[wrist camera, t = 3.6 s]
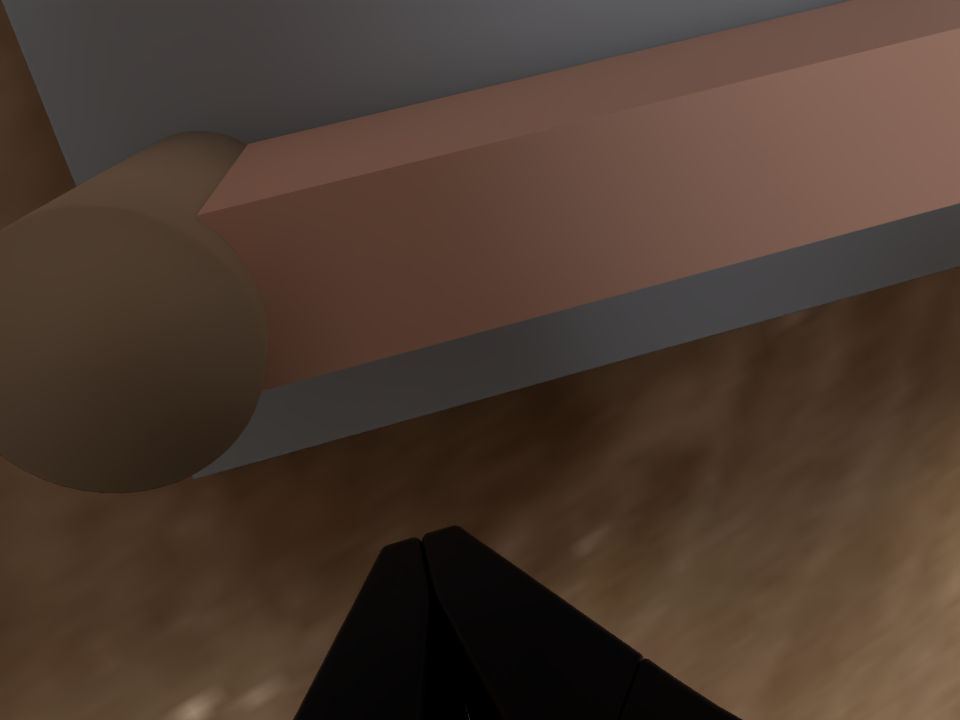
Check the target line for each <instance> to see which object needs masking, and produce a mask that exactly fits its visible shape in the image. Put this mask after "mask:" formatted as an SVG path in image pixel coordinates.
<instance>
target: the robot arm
mask: <svg viewBox="0 0 960 720" xmlns="http://www.w3.org/2000/svg"><path fill="white" fill-rule="evenodd" d="M466 708H467V709H466ZM468 715H469V716H468ZM469 718H470V720H742V719H740V718H738V717H737V716H735V715H733V714H731V713H730V712H728V711H726V710H724V709H723V708H721V707H719V706H717V705H716V704H714V703H713V702H711V701H710V700H708V699H707V698H705V697H704V696H702V695H701V694H699V693H697V692H696V691H694V690H693V689H691V688H690V687H688V686H687V685H685V684H684V683H682V682H681V681H679V680H678V679H676V678H675V677H673V676H672V675H670V674H669V673H667V672H666V671H664V670H663V669H662V668H660V667H659V666H658V665H656V664H655V663H653V662H652V661H651V660H649V659H644V658H643V656H642V655H641V654H640V653H639V652H637V651H636V650H634V649H633V648H631V647H630V646H629V645H627V644H626V643H624V642H623V641H622V640H620V639H619V638H617V637H616V636H614V635H613V634H612V633H610V632H609V631H607V630H606V629H604V628H603V627H602V626H600V625H599V624H597V623H596V622H595V621H593V620H592V619H590V618H589V617H587V616H586V615H585V614H583V613H582V612H580V611H579V610H577V609H576V608H575V607H573V606H572V605H570V604H569V603H568V602H566V601H565V600H563V599H562V598H560V597H559V596H558V595H556V594H555V593H553V592H552V591H550V590H549V589H548V588H546V587H545V586H543V585H542V584H540V583H539V582H538V581H536V580H535V579H533V578H532V577H531V576H529V575H528V574H526V573H525V572H523V571H522V570H521V569H519V568H518V567H516V566H515V565H513V564H512V563H511V562H509V561H508V560H506V559H505V558H504V557H502V556H501V555H499V554H498V553H496V552H495V551H494V550H492V549H491V548H489V547H488V546H486V545H485V544H484V543H482V542H481V541H479V540H478V539H477V538H475V537H474V536H472V535H471V534H469V533H468V532H467V531H465V530H464V529H462V528H461V527H459V526H456V525H454V526H450V527H447V528H443V529H440V530H437V531H433V532H430V533H427V534H425V535H424V536H423V538H422V542H421V540H420V539H419V538H416V537H415V538H410V539H406V540H403V541H400V542H396V543H393V544H389V545H386V546H385V547H383V548H382V550H381V551H380V553H379V555H378V557H377V559H376V561H375V563H374V565H373V567H372V569H371V570H370V572H369V574H368V576H367V578H366V580H365V582H364V584H363V586H362V588H361V590H360V592H359V594H358V596H357V597H356V599H355V601H354V603H353V605H352V607H351V609H350V611H349V613H348V615H347V617H346V619H345V621H344V623H343V624H342V626H341V628H340V630H339V632H338V634H337V636H336V638H335V640H334V642H333V644H332V646H331V648H330V649H329V651H328V653H327V655H326V657H325V659H324V661H323V663H322V665H321V667H320V669H319V671H318V673H317V675H316V676H315V678H314V680H313V682H312V684H311V686H310V688H309V690H308V692H307V694H306V696H305V698H304V700H303V702H302V703H301V705H300V707H299V709H298V711H297V713H296V715H295V717H294V719H293V720H469Z"/></svg>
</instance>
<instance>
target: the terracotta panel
mask: <svg viewBox="0 0 960 720" xmlns="http://www.w3.org/2000/svg"><path fill="white" fill-rule="evenodd" d="M958 203H960V0H851V1H846V2H842V3H838V4H834V5H830V6H825V7H821V8H817V9H813V10H809V11H804V12H800V13H796V14H792V15H788V16H783V17H779V18H775V19H771V20H767V21H762V22H758V23H754V24H750V25H746V26H741V27H737V28H733V29H729V30H725V31H720V32H716V33H712V34H708V35H704V36H699V37H695V38H691V39H687V40H683V41H678V42H674V43H670V44H666V45H662V46H657V47H653V48H649V49H645V50H641V51H636V52H632V53H628V54H624V55H620V56H615V57H611V58H607V59H603V60H599V61H594V62H590V63H586V64H582V65H578V66H573V67H569V68H565V69H561V70H557V71H552V72H548V73H544V74H540V75H536V76H531V77H527V78H523V79H519V80H515V81H510V82H506V83H502V84H498V85H494V86H489V87H485V88H481V89H477V90H473V91H468V92H464V93H460V94H456V95H452V96H447V97H443V98H439V99H435V100H431V101H426V102H422V103H418V104H414V105H410V106H405V107H401V108H397V109H393V110H389V111H384V112H380V113H376V114H372V115H368V116H363V117H359V118H355V119H351V120H347V121H342V122H338V123H334V124H330V125H326V126H321V127H317V128H313V129H309V130H305V131H300V132H296V133H292V134H288V135H284V136H279V137H275V138H271V139H267V140H263V141H258V142H254V143H250V144H248V145H246V144H244V143H243V142H241V141H239V140H237V139H235V138H232V137H229V136H227V135H224V134H220V133H215V132H209V131H188V132H182V133H178V134H174V135H171V136H168V137H166V138H164V139H162V140H160V141H158V142H156V143H154V144H153V145H151V146H149V147H147V148H145V149H144V150H142V151H140V152H138V153H136V154H135V155H133V156H131V157H129V158H127V159H126V160H124V161H122V162H120V163H118V164H117V165H115V166H113V167H111V168H109V169H108V170H106V171H104V172H102V173H100V174H99V175H97V176H95V177H93V178H91V179H90V180H88V181H86V182H84V183H82V184H81V185H79V186H77V187H75V188H73V189H72V190H70V191H68V192H66V193H64V194H63V195H61V196H59V197H57V198H56V199H54V200H52V201H50V202H48V203H47V204H45V205H43V206H41V207H39V208H38V209H36V210H34V211H32V212H30V213H29V214H27V215H25V216H23V217H21V218H20V219H18V220H16V221H14V222H12V223H11V224H9V225H7V226H5V227H4V228H2V229H1V230H0V455H1V456H2V457H3V458H5V459H6V460H8V461H9V462H11V463H12V464H14V465H16V466H17V467H19V468H21V469H22V470H24V471H26V472H28V473H30V474H32V475H35V476H37V477H39V478H41V479H43V480H46V481H49V482H52V483H55V484H58V485H61V486H64V487H69V488H73V489H78V490H82V491H90V492H99V493H129V492H139V491H146V490H150V489H155V488H160V487H163V486H166V485H169V484H172V483H175V482H178V481H181V480H183V479H185V478H187V477H189V476H191V475H193V474H195V473H197V472H199V471H201V470H202V469H204V468H205V467H207V466H208V465H210V464H211V463H213V462H214V461H215V460H216V459H218V458H219V457H220V456H221V455H222V454H224V453H225V452H226V451H227V450H228V449H229V448H230V447H231V446H232V445H233V443H234V442H235V441H236V440H237V439H238V438H239V437H240V435H241V434H242V432H243V431H244V429H245V428H246V426H247V425H248V423H249V421H250V419H251V417H252V415H253V413H254V411H255V409H256V407H257V404H258V401H259V398H260V395H261V392H262V391H264V390H268V389H272V388H275V387H279V386H283V385H287V384H290V383H294V382H298V381H301V380H305V379H309V378H313V377H316V376H320V375H324V374H327V373H331V372H335V371H339V370H342V369H346V368H350V367H353V366H357V365H361V364H365V363H368V362H372V361H376V360H379V359H383V358H387V357H391V356H394V355H398V354H402V353H405V352H409V351H413V350H417V349H420V348H424V347H428V346H431V345H435V344H439V343H442V342H446V341H450V340H454V339H457V338H461V337H465V336H468V335H472V334H476V333H480V332H483V331H487V330H491V329H494V328H498V327H502V326H506V325H509V324H513V323H517V322H520V321H524V320H528V319H532V318H535V317H539V316H543V315H546V314H550V313H554V312H558V311H561V310H565V309H569V308H572V307H576V306H580V305H583V304H587V303H591V302H595V301H598V300H602V299H606V298H609V297H613V296H617V295H621V294H624V293H628V292H632V291H635V290H639V289H643V288H647V287H650V286H654V285H658V284H661V283H665V282H669V281H673V280H676V279H680V278H684V277H687V276H691V275H695V274H699V273H702V272H706V271H710V270H713V269H717V268H721V267H725V266H728V265H732V264H736V263H739V262H743V261H747V260H750V259H754V258H758V257H762V256H765V255H769V254H773V253H776V252H780V251H784V250H788V249H791V248H795V247H799V246H802V245H806V244H810V243H814V242H817V241H821V240H825V239H828V238H832V237H836V236H840V235H843V234H847V233H851V232H854V231H858V230H862V229H866V228H869V227H873V226H877V225H880V224H884V223H888V222H891V221H895V220H899V219H903V218H906V217H910V216H914V215H917V214H921V213H925V212H929V211H932V210H936V209H940V208H943V207H947V206H951V205H955V204H958Z"/></svg>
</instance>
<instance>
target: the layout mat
mask: <svg viewBox="0 0 960 720" xmlns="http://www.w3.org/2000/svg"><path fill="white" fill-rule="evenodd" d="M846 1H851V0H2V3H3V5H4V8H5V10H6V13H7V15H8V18H9V20H10V23H11V25H12V28H13V30H14V33H15V35H16V38H17V40H18V43H19V45H20V48H21V50H22V53H23V55H24V58H25V60H26V63H27V65H28V68H29V70H30V73H31V75H32V78H33V80H34V83H35V85H36V88H37V90H38V93H39V95H40V98H41V100H42V103H43V105H44V108H45V110H46V113H47V115H48V118H49V120H50V123H51V125H52V128H53V130H54V133H55V135H56V138H57V140H58V143H59V145H60V148H61V150H62V153H63V155H64V158H65V160H66V163H67V165H68V168H69V170H70V173H71V175H72V178H73V180H74V183H75V185H76V187H77V186H79V185H81V184H82V183H84V182H86V181H88V180H90V179H91V178H93V177H95V176H97V175H99V174H100V173H102V172H104V171H106V170H108V169H109V168H111V167H113V166H115V165H117V164H118V163H120V162H122V161H124V160H126V159H127V158H129V157H131V156H133V155H135V154H136V153H138V152H140V151H142V150H144V149H145V148H147V147H149V146H151V145H153V144H154V143H156V142H158V141H160V140H162V139H164V138H166V137H168V136H171V135H174V134H178V133H182V132H188V131H209V132H215V133H220V134H224V135H227V136H229V137H232V138H235V139H237V140H239V141H241V142H243V143H244V144H246V145H248V144H250V143H254V142H258V141H263V140H267V139H271V138H275V137H279V136H284V135H288V134H292V133H296V132H300V131H305V130H309V129H313V128H317V127H321V126H326V125H330V124H334V123H338V122H342V121H347V120H351V119H355V118H359V117H363V116H368V115H372V114H376V113H380V112H384V111H389V110H393V109H397V108H401V107H405V106H410V105H414V104H418V103H422V102H426V101H431V100H435V99H439V98H443V97H447V96H452V95H456V94H460V93H464V92H468V91H473V90H477V89H481V88H485V87H489V86H494V85H498V84H502V83H506V82H510V81H515V80H519V79H523V78H527V77H531V76H536V75H540V74H544V73H548V72H552V71H557V70H561V69H565V68H569V67H573V66H578V65H582V64H586V63H590V62H594V61H599V60H603V59H607V58H611V57H615V56H620V55H624V54H628V53H632V52H636V51H641V50H645V49H649V48H653V47H657V46H662V45H666V44H670V43H674V42H678V41H683V40H687V39H691V38H695V37H699V36H704V35H708V34H712V33H716V32H720V31H725V30H729V29H733V28H737V27H741V26H746V25H750V24H754V23H758V22H762V21H767V20H771V19H775V18H779V17H783V16H788V15H792V14H796V13H800V12H804V11H809V10H813V9H817V8H821V7H825V6H830V5H834V4H838V3H842V2H846ZM959 266H960V203H958V204H955V205H951V206H947V207H943V208H940V209H936V210H932V211H929V212H925V213H921V214H917V215H914V216H910V217H906V218H903V219H899V220H895V221H891V222H888V223H884V224H880V225H877V226H873V227H869V228H866V229H862V230H858V231H854V232H851V233H847V234H843V235H840V236H836V237H832V238H828V239H825V240H821V241H817V242H814V243H810V244H806V245H802V246H799V247H795V248H791V249H788V250H784V251H780V252H776V253H773V254H769V255H765V256H762V257H758V258H754V259H750V260H747V261H743V262H739V263H736V264H732V265H728V266H725V267H721V268H717V269H713V270H710V271H706V272H702V273H699V274H695V275H691V276H687V277H684V278H680V279H676V280H673V281H669V282H665V283H661V284H658V285H654V286H650V287H647V288H643V289H639V290H635V291H632V292H628V293H624V294H621V295H617V296H613V297H609V298H606V299H602V300H598V301H595V302H591V303H587V304H583V305H580V306H576V307H572V308H569V309H565V310H561V311H558V312H554V313H550V314H546V315H543V316H539V317H535V318H532V319H528V320H524V321H520V322H517V323H513V324H509V325H506V326H502V327H498V328H494V329H491V330H487V331H483V332H480V333H476V334H472V335H468V336H465V337H461V338H457V339H454V340H450V341H446V342H442V343H439V344H435V345H431V346H428V347H424V348H420V349H417V350H413V351H409V352H405V353H402V354H398V355H394V356H391V357H387V358H383V359H379V360H376V361H372V362H368V363H365V364H361V365H357V366H353V367H350V368H346V369H342V370H339V371H335V372H331V373H327V374H324V375H320V376H316V377H313V378H309V379H305V380H301V381H298V382H294V383H290V384H287V385H283V386H279V387H275V388H272V389H268V390H264V391H262V392H261V395H260V398H259V401H258V404H257V407H256V409H255V411H254V413H253V415H252V417H251V419H250V421H249V423H248V425H247V426H246V428H245V429H244V431H243V432H242V434H241V435H240V437H239V438H238V439H237V440H236V441H235V442H234V443H233V445H232V446H231V447H230V448H229V449H228V450H227V451H226V452H225V453H224V454H222V455H221V456H220V457H219V458H218V459H216V460H215V461H214V462H213V463H211V464H210V465H208V466H207V467H205V468H204V469H202V470H201V471H199V472H197V473H195V474H193V475H192V478H193V480H194V479H197V478H201V477H204V476H208V475H212V474H215V473H219V472H222V471H226V470H230V469H233V468H237V467H240V466H244V465H247V464H251V463H255V462H258V461H262V460H265V459H269V458H273V457H276V456H280V455H283V454H287V453H291V452H294V451H298V450H301V449H305V448H309V447H312V446H316V445H319V444H323V443H327V442H330V441H334V440H337V439H341V438H345V437H348V436H352V435H355V434H359V433H363V432H366V431H370V430H373V429H377V428H381V427H384V426H388V425H391V424H395V423H398V422H402V421H406V420H409V419H413V418H416V417H420V416H424V415H427V414H431V413H434V412H438V411H442V410H445V409H449V408H452V407H456V406H460V405H463V404H467V403H470V402H474V401H478V400H481V399H485V398H488V397H492V396H496V395H499V394H503V393H506V392H510V391H514V390H517V389H521V388H524V387H528V386H532V385H535V384H539V383H542V382H546V381H549V380H553V379H557V378H560V377H564V376H567V375H571V374H575V373H578V372H582V371H585V370H589V369H593V368H596V367H600V366H603V365H607V364H611V363H614V362H618V361H621V360H625V359H629V358H632V357H636V356H639V355H643V354H647V353H650V352H654V351H657V350H661V349H665V348H668V347H672V346H675V345H679V344H683V343H686V342H690V341H693V340H697V339H700V338H704V337H708V336H711V335H715V334H718V333H722V332H726V331H729V330H733V329H736V328H740V327H744V326H747V325H751V324H754V323H758V322H762V321H765V320H769V319H772V318H776V317H780V316H783V315H787V314H790V313H794V312H798V311H801V310H805V309H808V308H812V307H816V306H819V305H823V304H826V303H830V302H834V301H837V300H841V299H844V298H848V297H851V296H855V295H859V294H862V293H866V292H869V291H873V290H877V289H880V288H884V287H887V286H891V285H895V284H898V283H902V282H905V281H909V280H913V279H916V278H920V277H923V276H927V275H931V274H934V273H938V272H941V271H945V270H949V269H952V268H956V267H959Z"/></svg>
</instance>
